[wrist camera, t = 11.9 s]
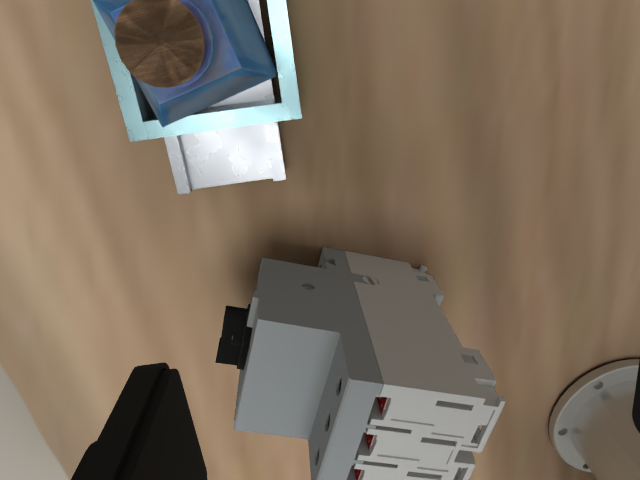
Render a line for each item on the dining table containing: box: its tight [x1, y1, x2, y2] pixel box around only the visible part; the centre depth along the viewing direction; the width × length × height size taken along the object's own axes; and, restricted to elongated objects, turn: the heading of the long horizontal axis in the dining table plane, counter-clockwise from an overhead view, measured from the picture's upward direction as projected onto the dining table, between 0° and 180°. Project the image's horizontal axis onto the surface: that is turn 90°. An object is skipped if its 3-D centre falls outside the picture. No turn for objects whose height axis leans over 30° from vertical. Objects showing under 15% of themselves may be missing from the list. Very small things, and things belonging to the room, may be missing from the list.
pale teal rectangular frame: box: [91, 0, 302, 195], centre depth 28 cm, size 10×18×4 cm, turn 7°
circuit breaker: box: [216, 247, 506, 480], centre depth 31 cm, size 8×14×15 cm, turn 76°
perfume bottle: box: [93, 0, 276, 127], centre depth 23 cm, size 6×6×12 cm
